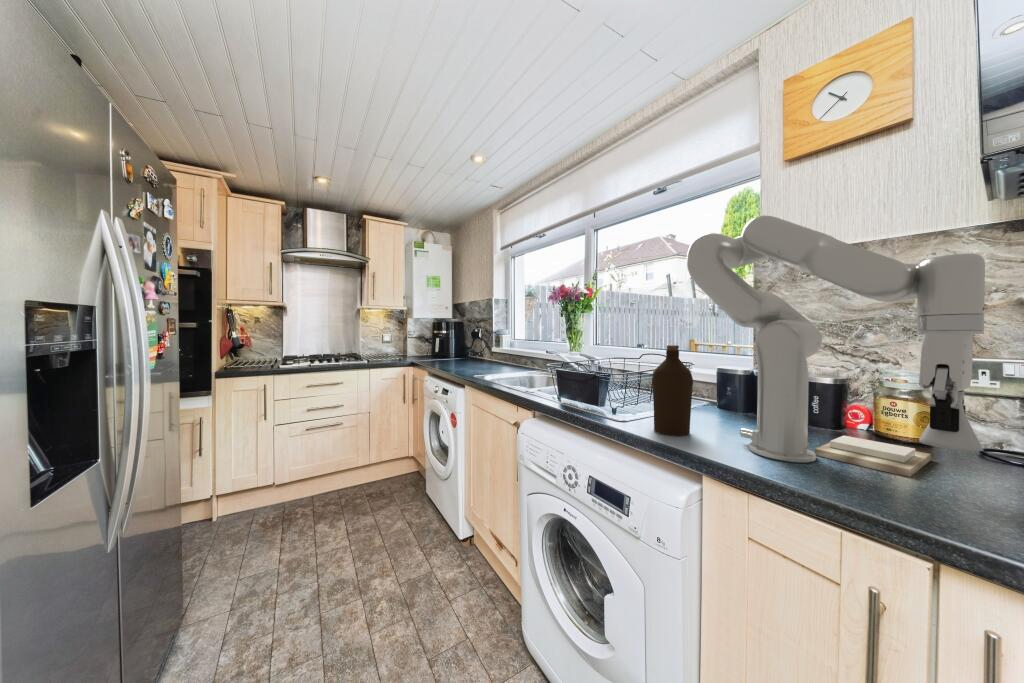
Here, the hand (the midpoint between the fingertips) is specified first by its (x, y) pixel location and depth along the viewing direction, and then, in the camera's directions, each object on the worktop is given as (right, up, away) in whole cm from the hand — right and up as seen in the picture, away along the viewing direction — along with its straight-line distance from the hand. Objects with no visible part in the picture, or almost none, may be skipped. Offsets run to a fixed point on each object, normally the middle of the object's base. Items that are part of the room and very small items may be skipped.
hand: (947, 427), depth 63 cm
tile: (+9, -9, +20) cm, 24 cm away
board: (+5, -12, +18) cm, 22 cm away
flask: (0, -4, 0) cm, 4 cm away
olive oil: (-31, -11, +39) cm, 51 cm away
